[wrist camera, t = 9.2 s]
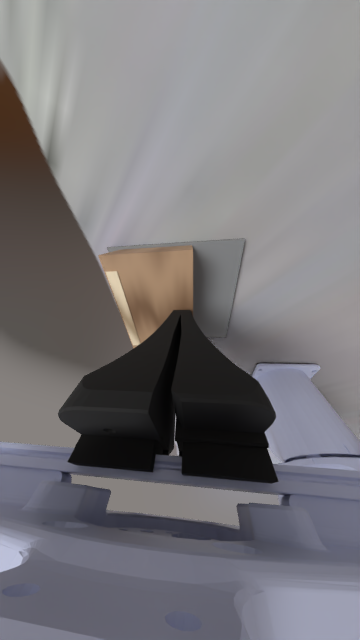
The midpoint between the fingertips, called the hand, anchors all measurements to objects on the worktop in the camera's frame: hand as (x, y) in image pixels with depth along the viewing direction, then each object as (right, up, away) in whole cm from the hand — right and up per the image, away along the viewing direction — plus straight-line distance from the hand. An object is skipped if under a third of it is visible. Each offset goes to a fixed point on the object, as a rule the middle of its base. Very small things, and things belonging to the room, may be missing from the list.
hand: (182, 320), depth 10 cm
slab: (+1, +1, +1) cm, 2 cm away
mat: (0, +2, +3) cm, 4 cm away
